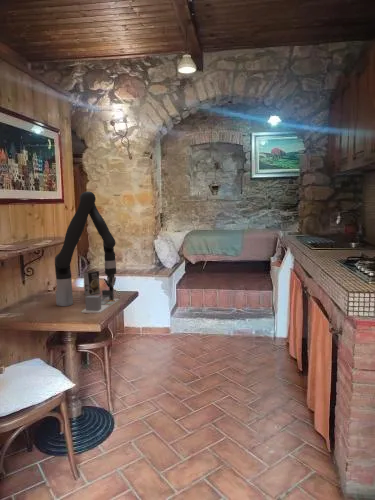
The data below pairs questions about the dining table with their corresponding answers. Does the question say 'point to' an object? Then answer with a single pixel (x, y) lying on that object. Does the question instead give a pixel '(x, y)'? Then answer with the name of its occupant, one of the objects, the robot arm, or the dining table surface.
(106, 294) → the tall dark grey box
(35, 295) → the dining table surface
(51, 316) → the dining table surface
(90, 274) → the coffee box
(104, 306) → the gauge base
